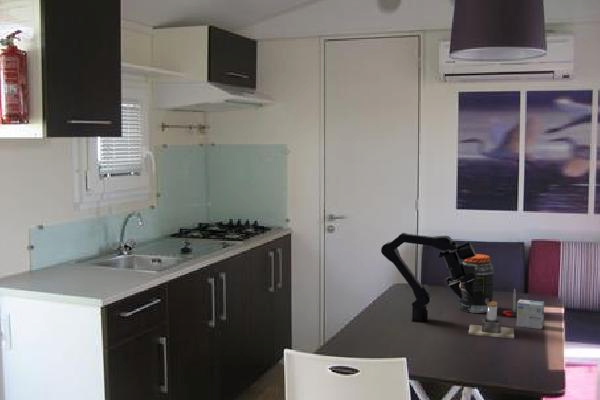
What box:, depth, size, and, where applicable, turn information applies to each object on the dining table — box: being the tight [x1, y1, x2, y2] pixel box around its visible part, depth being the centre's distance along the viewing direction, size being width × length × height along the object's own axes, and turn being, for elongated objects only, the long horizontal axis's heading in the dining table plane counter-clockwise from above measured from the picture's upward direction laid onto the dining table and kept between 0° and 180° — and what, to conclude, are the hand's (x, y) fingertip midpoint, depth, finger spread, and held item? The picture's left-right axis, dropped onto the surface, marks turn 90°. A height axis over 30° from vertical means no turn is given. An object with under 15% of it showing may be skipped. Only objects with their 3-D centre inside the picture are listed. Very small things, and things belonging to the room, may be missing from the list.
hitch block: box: [468, 317, 515, 339], centre depth 291 cm, size 18×12×5 cm, turn 74°
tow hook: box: [502, 288, 517, 318], centre depth 321 cm, size 8×13×9 cm
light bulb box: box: [516, 299, 545, 330], centre depth 302 cm, size 11×7×11 cm, turn 65°
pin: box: [486, 300, 498, 323], centre depth 291 cm, size 4×4×12 cm
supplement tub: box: [457, 253, 494, 314], centre depth 329 cm, size 16×16×26 cm
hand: (466, 297), depth 301 cm, fingers open, 9 cm apart
